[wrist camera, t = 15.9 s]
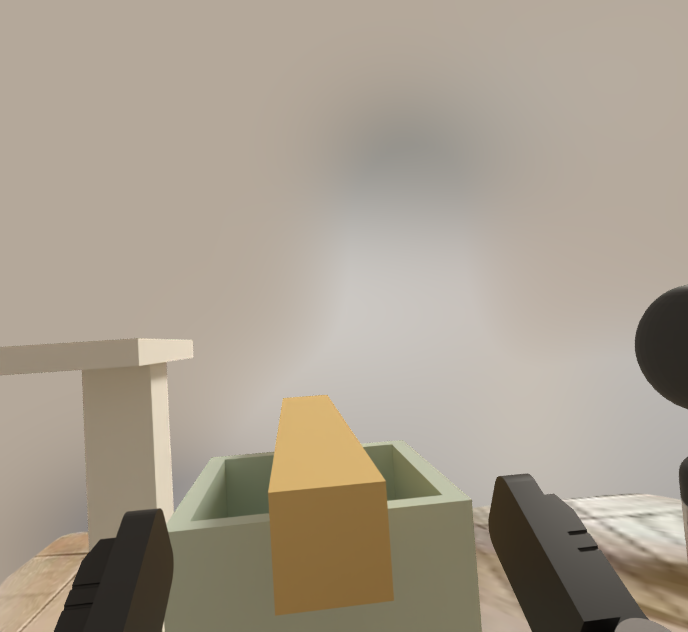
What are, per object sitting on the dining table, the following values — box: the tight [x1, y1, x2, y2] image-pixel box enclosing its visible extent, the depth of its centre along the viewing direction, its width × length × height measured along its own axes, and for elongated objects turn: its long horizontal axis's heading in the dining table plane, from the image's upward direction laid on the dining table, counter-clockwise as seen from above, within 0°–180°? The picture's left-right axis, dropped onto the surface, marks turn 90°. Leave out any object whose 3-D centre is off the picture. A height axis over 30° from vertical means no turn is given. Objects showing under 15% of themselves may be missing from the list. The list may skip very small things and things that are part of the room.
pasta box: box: [268, 395, 394, 616], centre depth 30 cm, size 28×4×4 cm, turn 6°
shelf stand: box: [0, 338, 193, 632], centre depth 44 cm, size 20×10×32 cm, turn 6°
